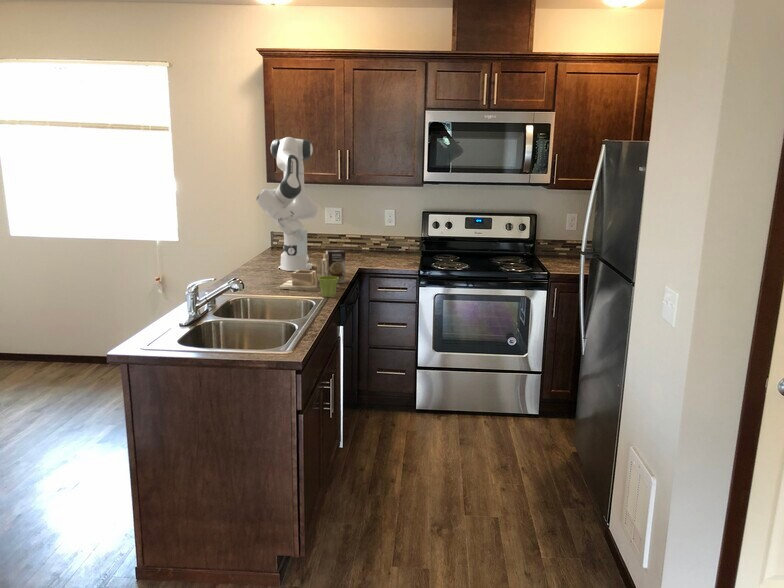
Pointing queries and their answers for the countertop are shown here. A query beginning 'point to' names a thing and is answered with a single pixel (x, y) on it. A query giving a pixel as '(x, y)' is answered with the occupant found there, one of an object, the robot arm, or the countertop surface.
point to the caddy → (308, 277)
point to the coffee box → (336, 264)
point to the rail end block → (302, 243)
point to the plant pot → (328, 285)
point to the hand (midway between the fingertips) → (303, 238)
